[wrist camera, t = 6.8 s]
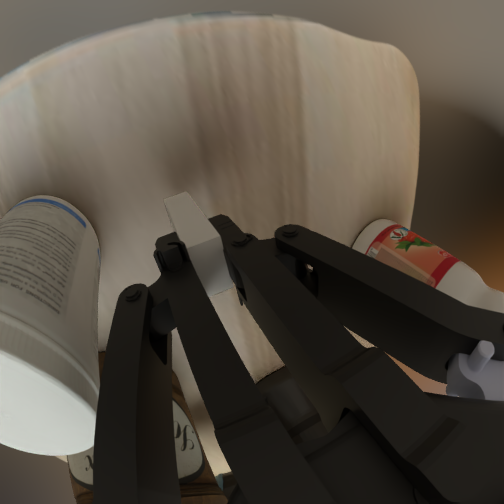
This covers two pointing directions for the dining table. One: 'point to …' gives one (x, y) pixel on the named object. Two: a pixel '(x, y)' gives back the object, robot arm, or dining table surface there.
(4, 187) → the dining table surface
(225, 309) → the dining table surface
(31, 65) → the dining table surface
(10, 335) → the supplement tub
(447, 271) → the fruit juice
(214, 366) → the robot arm
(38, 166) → the dining table surface
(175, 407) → the wooden container
